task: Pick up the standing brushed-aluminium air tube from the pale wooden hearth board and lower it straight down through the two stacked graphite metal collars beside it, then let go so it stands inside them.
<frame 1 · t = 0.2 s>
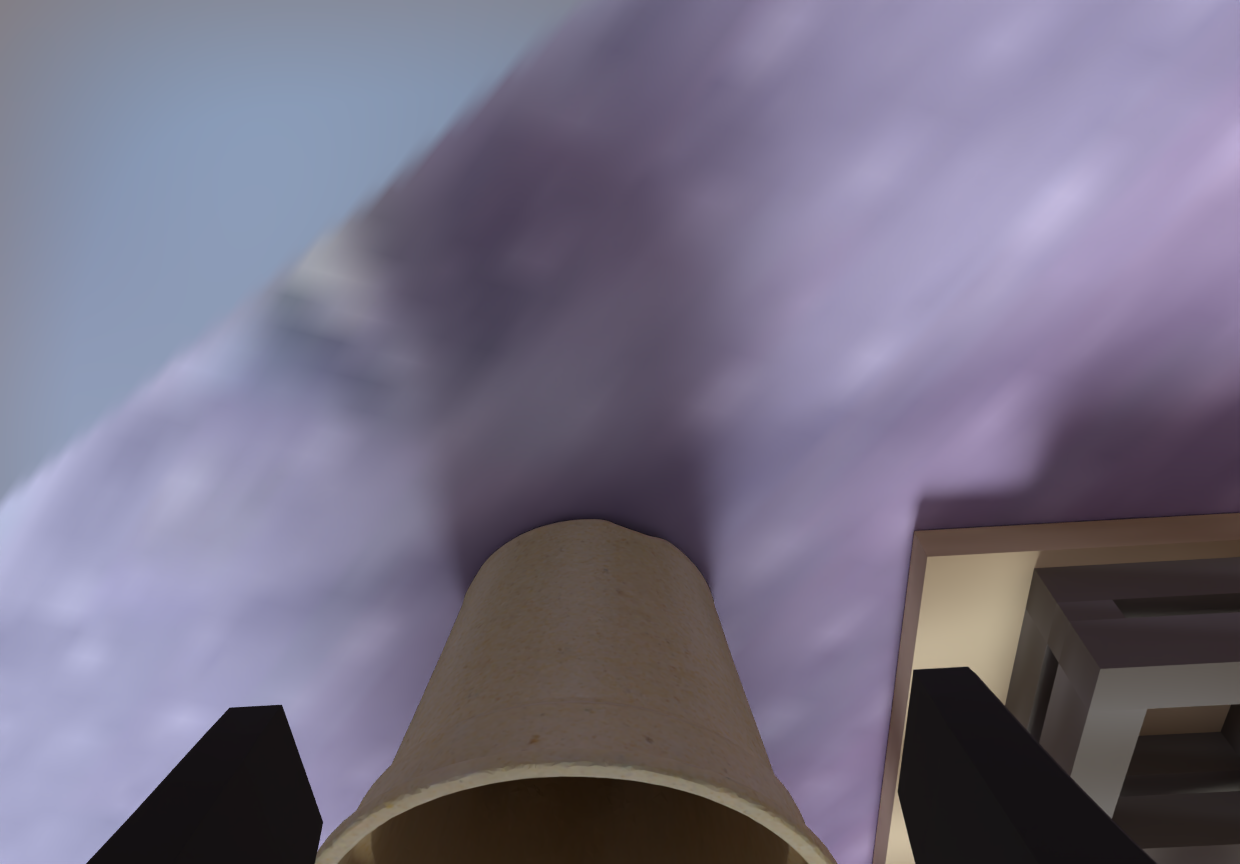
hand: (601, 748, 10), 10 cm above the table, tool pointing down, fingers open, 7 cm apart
wooden board with holder: (1103, 737, 25), on the table
flower pot: (586, 607, 23), on the table
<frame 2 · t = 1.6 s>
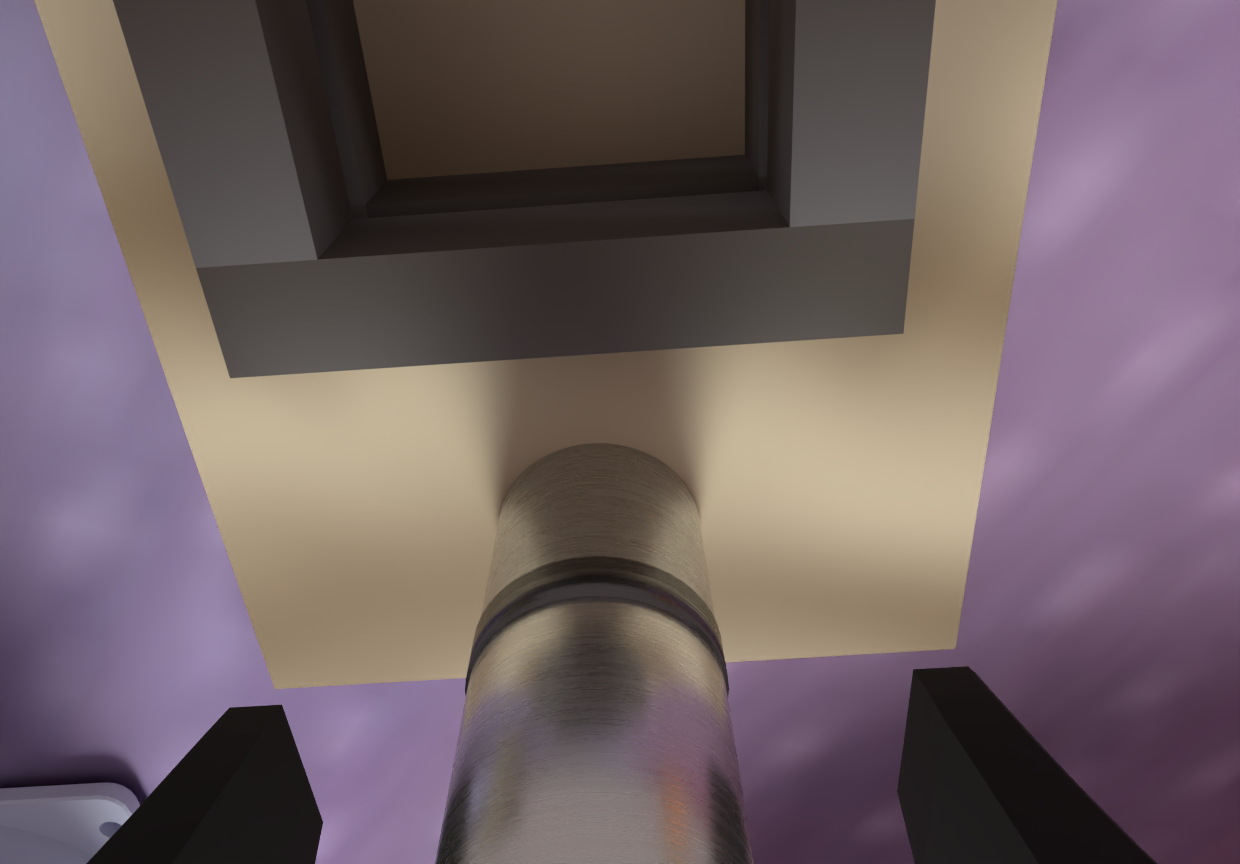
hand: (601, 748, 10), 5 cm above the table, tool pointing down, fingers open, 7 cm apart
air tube: (599, 529, 14), point 1 cm above the table, touching wooden board with holder
wooden board with holder: (575, 235, 13), on the table
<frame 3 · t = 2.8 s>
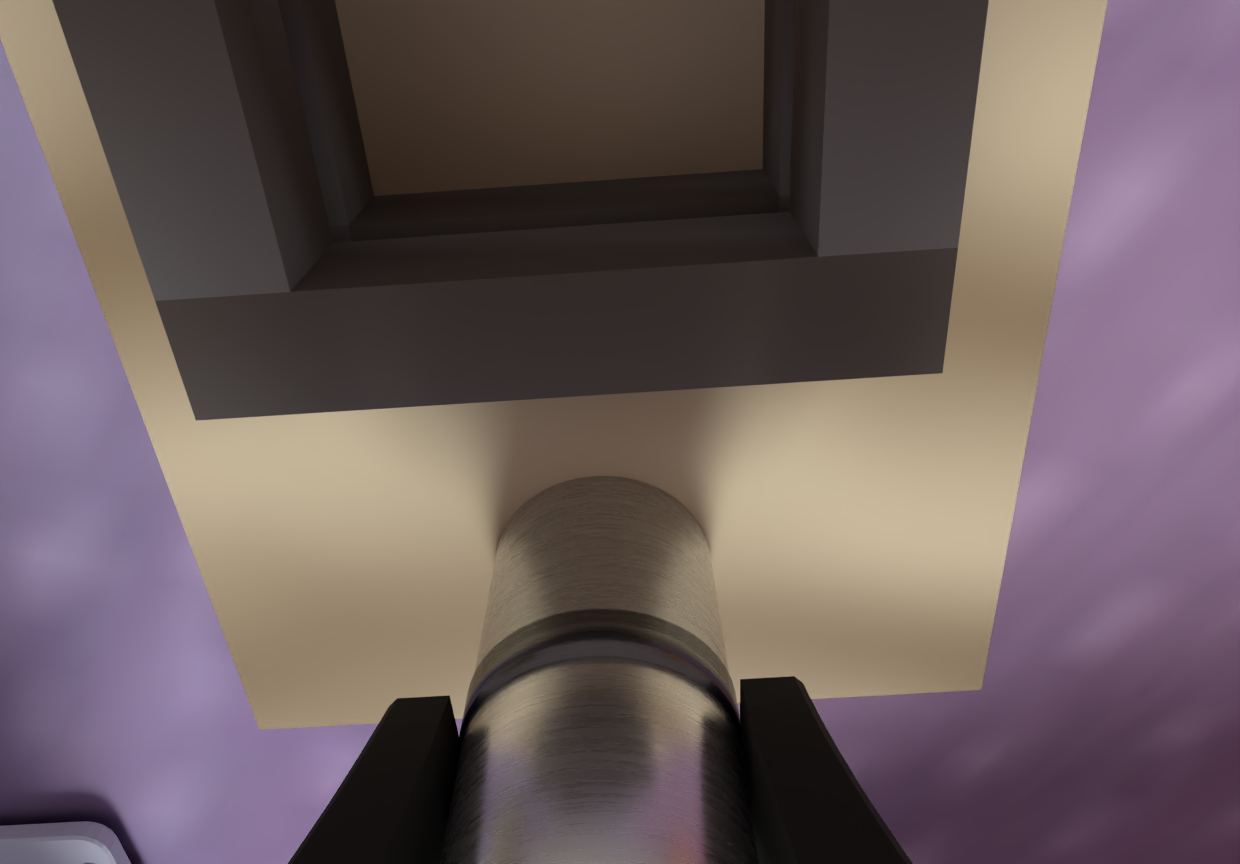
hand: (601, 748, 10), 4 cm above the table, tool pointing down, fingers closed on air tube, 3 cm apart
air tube: (603, 566, 13), point 1 cm above the table, touching wooden board with holder, gripper
wooden board with holder: (578, 253, 12), on the table
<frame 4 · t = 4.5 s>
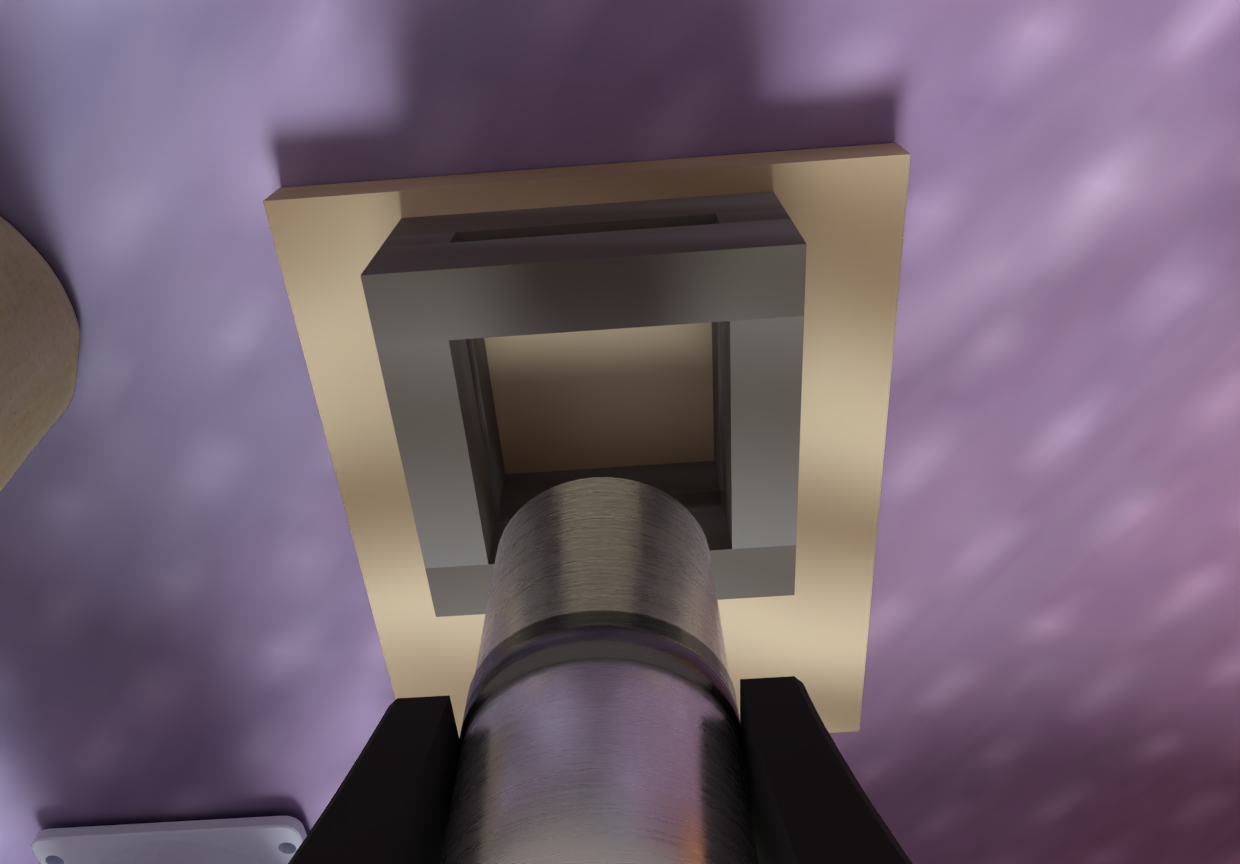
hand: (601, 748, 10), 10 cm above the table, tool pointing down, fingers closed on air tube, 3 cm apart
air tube: (603, 567, 13), point 7 cm above the table, touching gripper
wooden board with holder: (613, 488, 21), on the table
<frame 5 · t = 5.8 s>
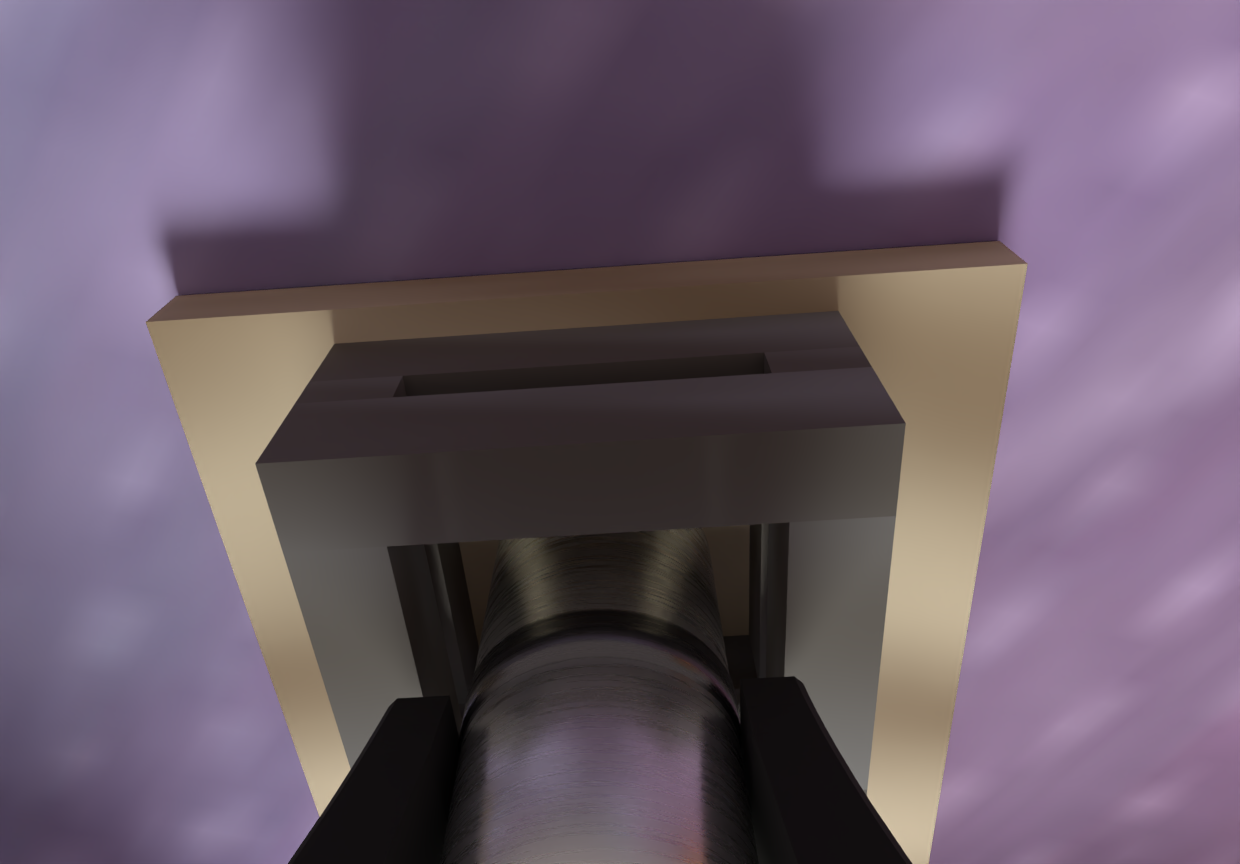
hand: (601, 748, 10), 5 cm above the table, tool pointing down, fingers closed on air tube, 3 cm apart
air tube: (603, 566, 13), point 2 cm above the table, touching gripper
wooden board with holder: (617, 653, 17), on the table
when the fingers open (5 cm above the table, at t = 6.5 s): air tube stays where it is, resting on wooden board with holder.
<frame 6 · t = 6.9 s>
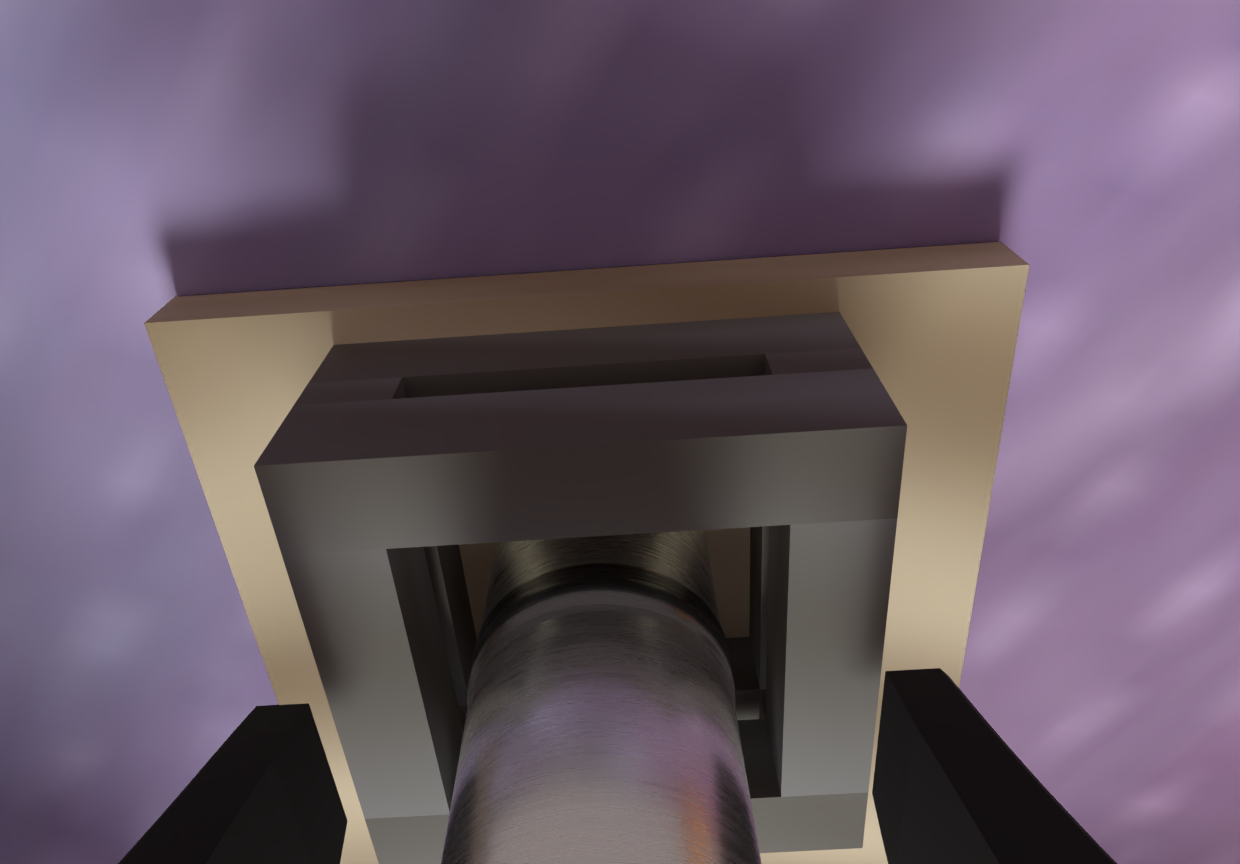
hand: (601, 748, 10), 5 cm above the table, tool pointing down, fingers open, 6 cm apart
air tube: (601, 535, 14), point 1 cm above the table, touching wooden board with holder
wooden board with holder: (618, 655, 17), on the table
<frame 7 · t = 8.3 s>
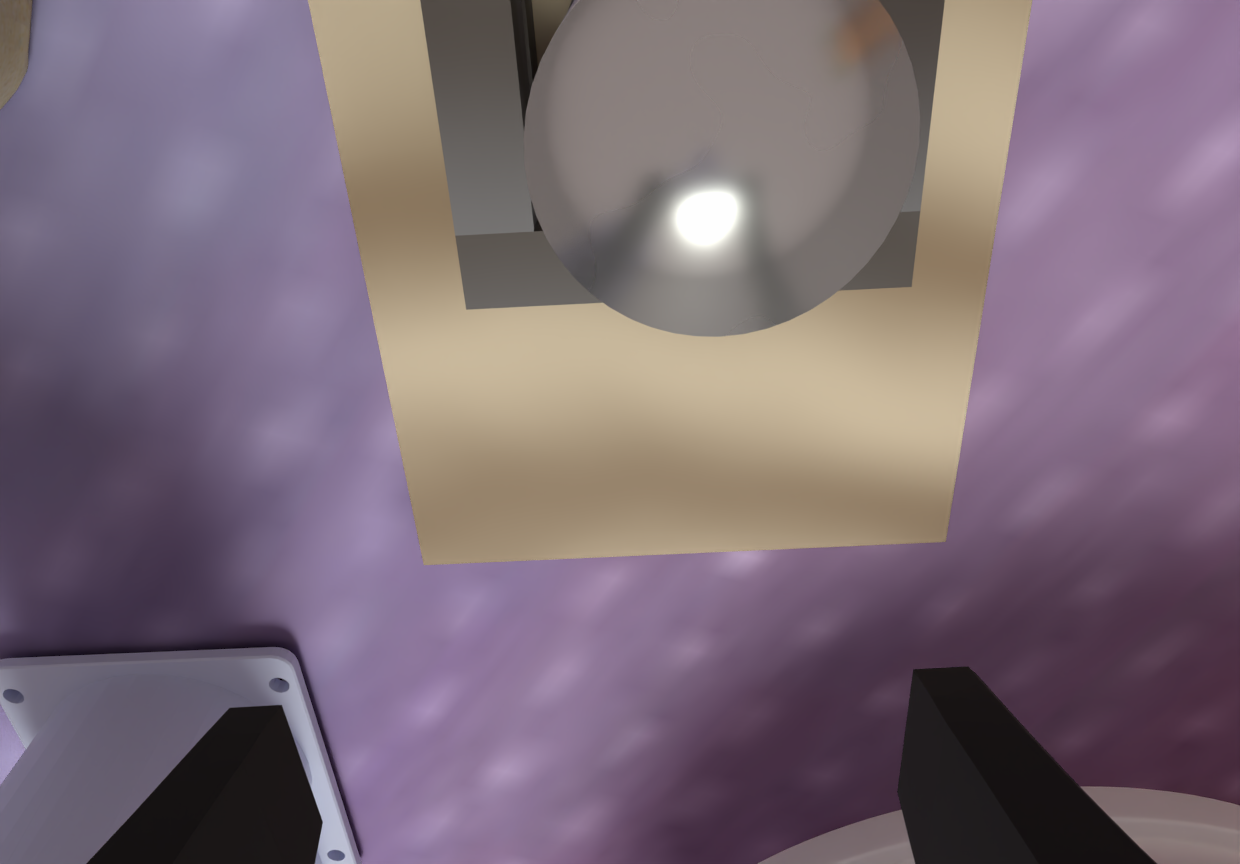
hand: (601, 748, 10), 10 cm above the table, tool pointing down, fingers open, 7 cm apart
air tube: (669, 33, 15), point 1 cm above the table, touching wooden board with holder
wooden board with holder: (672, 220, 18), on the table
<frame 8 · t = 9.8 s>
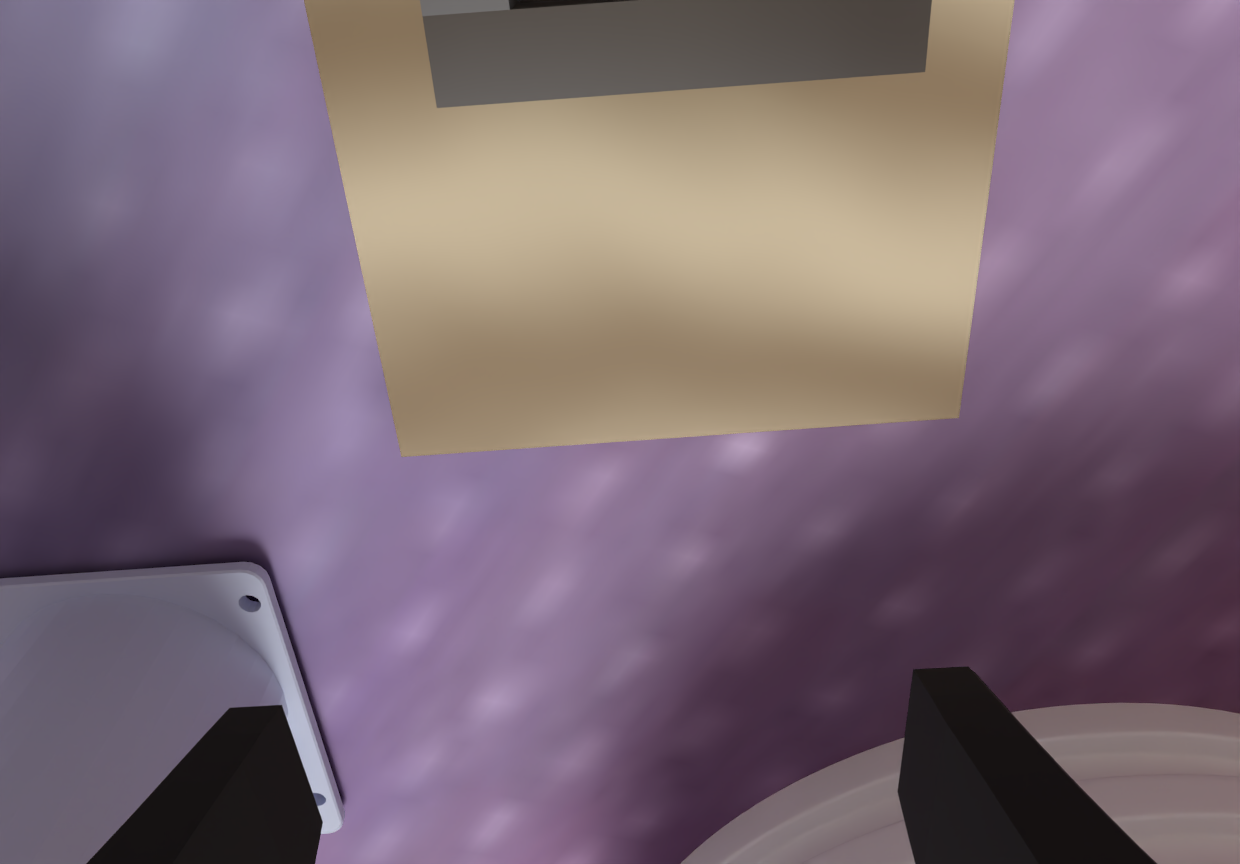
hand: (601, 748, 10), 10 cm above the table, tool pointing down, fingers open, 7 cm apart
wooden board with holder: (661, 56, 16), on the table
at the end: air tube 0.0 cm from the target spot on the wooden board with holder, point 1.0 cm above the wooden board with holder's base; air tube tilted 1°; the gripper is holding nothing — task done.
